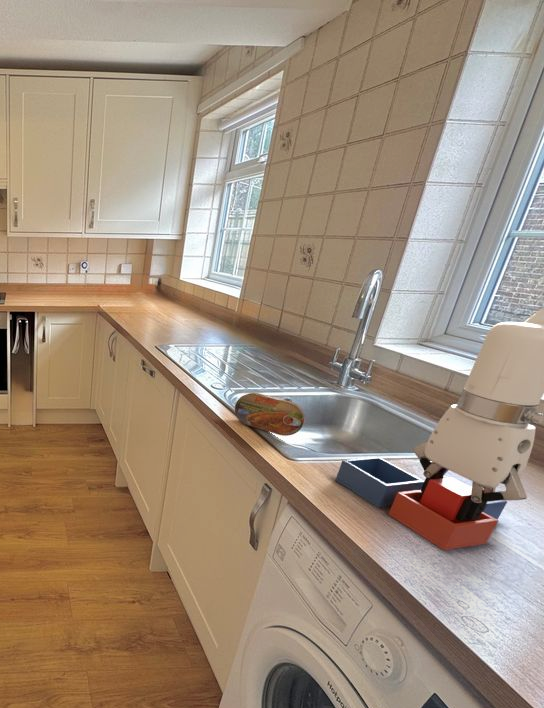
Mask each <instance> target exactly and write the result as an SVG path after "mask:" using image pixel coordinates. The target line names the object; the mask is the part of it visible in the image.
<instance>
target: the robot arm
mask: <svg viewBox="0 0 544 708" xmlns="http://www.w3.org/2000/svg"><path fill="white" fill-rule="evenodd" d="M543 396H544V307H542V308H540V309H539V310H538V311H536V312H535V313H534V314H532V315H531V316H530V317H528V318H527V319H526V320H524V321H523V322H517V321H505V322H499V323H496V324H494V325H493V326H492V327H491V328H490V329H489V330H488V332H487V333H486V336H485V338H484V341H483V343H482V345H481V347H480V350H479V352H478V355H477V356H476V358H475V361H474V364H473V366H472V368H471V371H470V373H469V375H468V376H467V380H466V381H465V384H464V387H463V389H462V391H461V393H460V396H459V398H458V400H457V403H455V404H451V405H450V406H449V407H448V409H447V410H446V411H445V412H444V413H443V415H442V416H441V417H440V419H439V420H438V422H437V424H436V425H435V427H434V429H433V430H432V432H431V434H430V436H429V438H428V440H427V441H424V442H422V443H419V444H418V445H415V446H413V447H412V451H413V452H414V455H415V456H416V457H417V459H418V460H419V463H420V465H421V467H422V469H423V476H424V477H425V478H424V480H423V481H424V483H423V486H422V488H421V491H422V493H421V495H420V497H419V498H420V499H421V498H422V496H423V494H424V491H425V489H426V487H427V485H428V482H429V480H431V479H439V478H444V476H445V475H446V474H447V473H448V472H449V471H450V472H452V473H454V474H457V475H458V476H461V477H463V478H464V479H467V480H470V481H471V483H472V484H471V486H472V491H471V497H470V498H467V499H465V500H464V502H463V504H462V506H461V508H460V510H459V512H458V514H457V516H456V519H457V520H458V521H460V522H463V521H470V520H476V519H478V518H479V517H480V515H481V513H482V511H483V509H484V507H485V505H486V504H487V502H490V501H498V500H506V501H521V500H526V499H527V498H528V495H527V493H526V490H525V488H524V485H523V483H522V480H521V478H522V477H523V474H524V472H525V469H526V467H527V465H528V462H529V459H530V457H531V453H532V450H533V447H534V442H535V438H536V429H537V428H536V426H535V425H532V424H530V423H536V424H539V425H541V424H543V423H544V413H540V411H538V410H539V408H540V405H539V404H540V402H541V400H542V398H543ZM500 484H502V485H504V486H505V488H506V490H500V491H499V490H498V491H496V488H497V487H499V486H500Z"/></svg>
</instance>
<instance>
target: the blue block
mask: <svg viewBox="0 0 544 708" xmlns="http://www.w3.org/2000/svg"><path fill="white" fill-rule="evenodd" d="M469 486H470V487H472V485H469ZM507 504H508V500H498V501H490V502H487V504H486V505H485V507H484V509H483V511H482V512H484V513H485V514H487V515H489V516H491V517H493V518H495V519H497V520H498V521H499V518H500V516H501V514H502V513H503V511H504V508H505V507H506V505H507Z"/></svg>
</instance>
